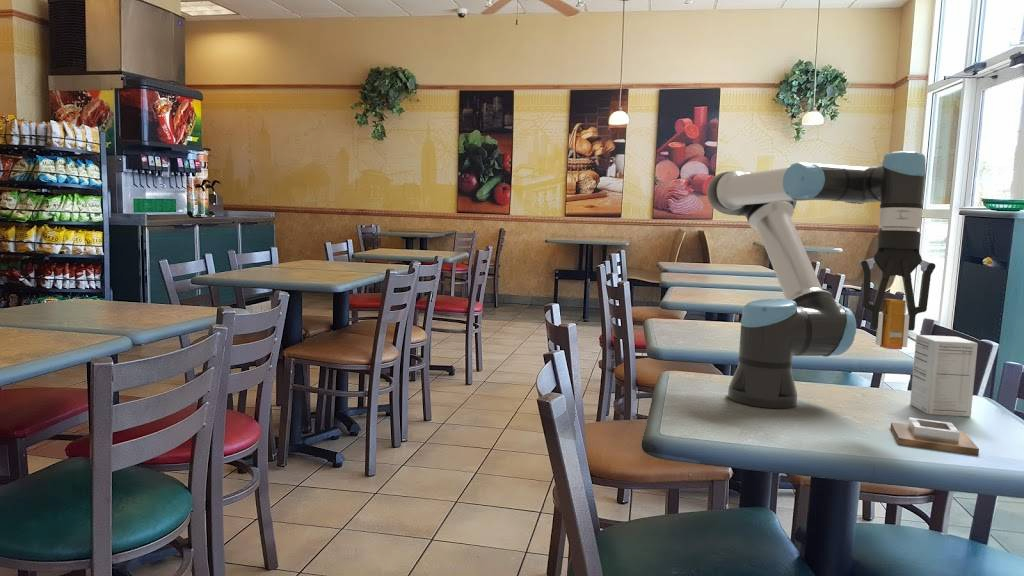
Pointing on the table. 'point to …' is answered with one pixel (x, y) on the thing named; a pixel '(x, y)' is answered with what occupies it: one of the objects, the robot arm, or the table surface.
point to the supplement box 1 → (893, 323)
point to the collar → (933, 430)
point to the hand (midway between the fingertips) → (891, 345)
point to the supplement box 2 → (943, 375)
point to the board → (933, 441)
